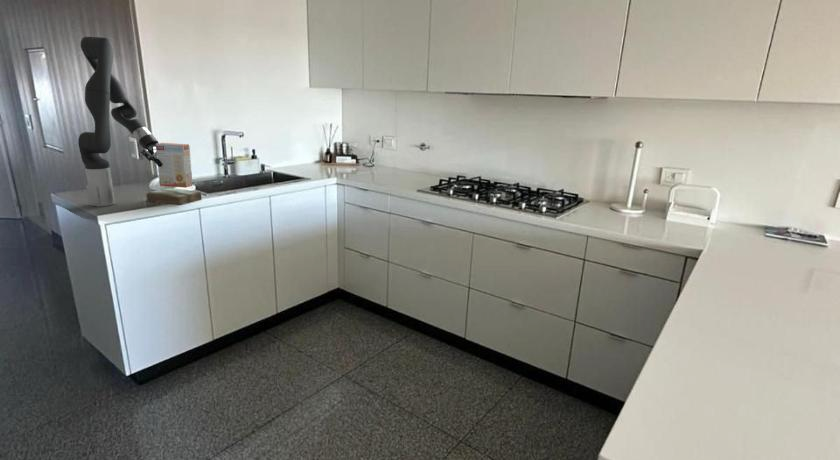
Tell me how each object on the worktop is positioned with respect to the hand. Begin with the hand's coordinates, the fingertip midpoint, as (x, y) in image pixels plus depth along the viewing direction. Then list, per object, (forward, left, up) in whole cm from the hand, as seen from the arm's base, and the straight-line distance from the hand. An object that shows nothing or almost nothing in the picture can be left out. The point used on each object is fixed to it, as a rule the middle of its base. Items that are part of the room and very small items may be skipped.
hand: (167, 164), depth 224 cm
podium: (0, -2, -17) cm, 18 cm away
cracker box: (+1, -4, -11) cm, 11 cm away
